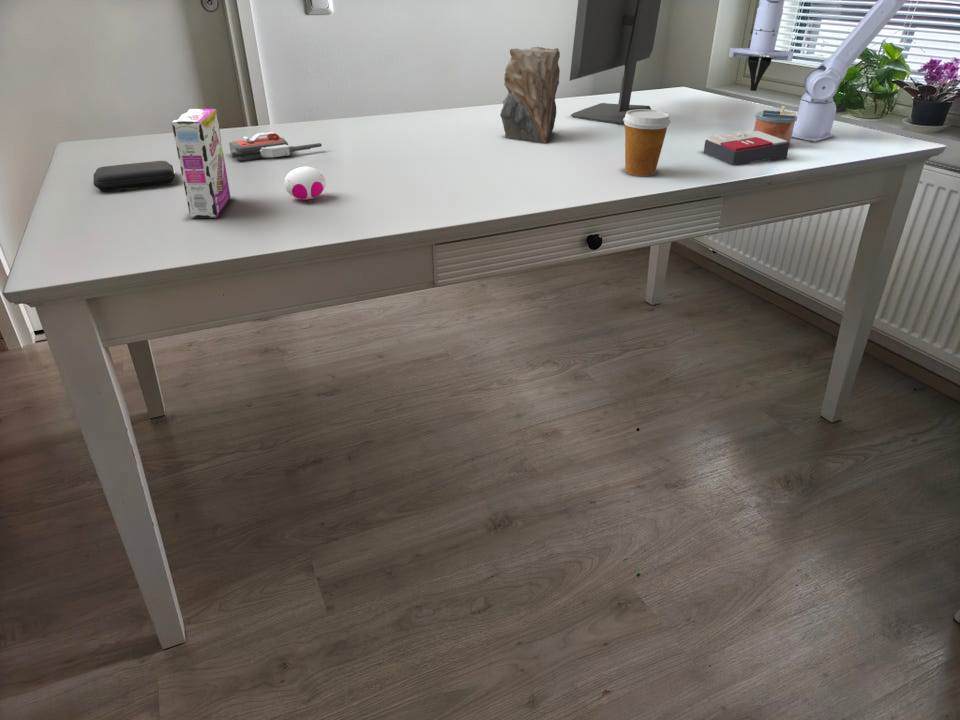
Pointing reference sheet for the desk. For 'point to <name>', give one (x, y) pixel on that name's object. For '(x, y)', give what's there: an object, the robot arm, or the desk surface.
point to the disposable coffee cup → (644, 140)
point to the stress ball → (305, 183)
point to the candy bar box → (202, 162)
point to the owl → (531, 94)
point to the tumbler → (775, 124)
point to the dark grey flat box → (746, 147)
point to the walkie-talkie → (264, 147)
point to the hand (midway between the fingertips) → (753, 90)
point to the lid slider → (786, 112)
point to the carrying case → (134, 175)
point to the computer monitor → (613, 48)
